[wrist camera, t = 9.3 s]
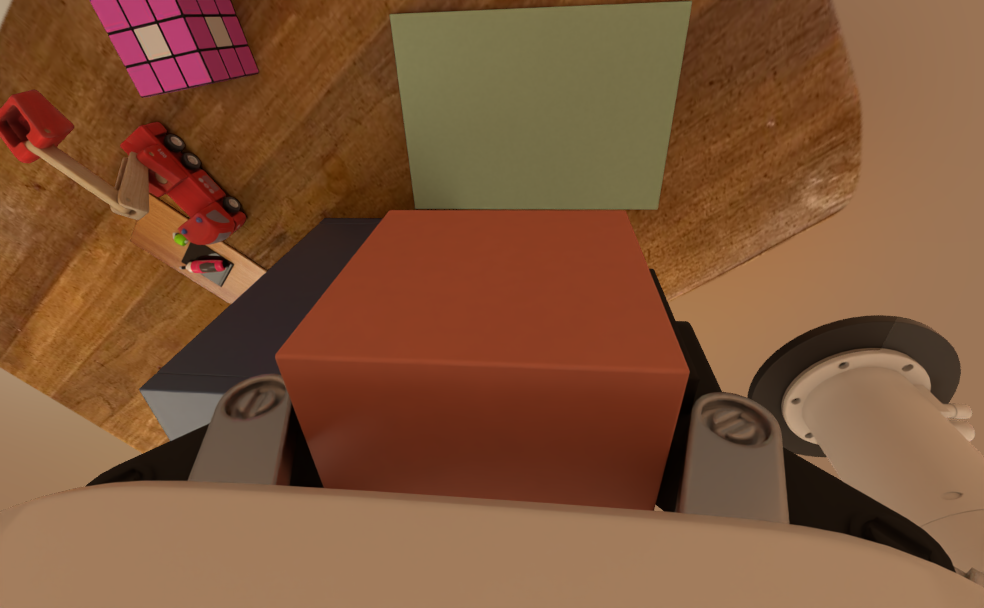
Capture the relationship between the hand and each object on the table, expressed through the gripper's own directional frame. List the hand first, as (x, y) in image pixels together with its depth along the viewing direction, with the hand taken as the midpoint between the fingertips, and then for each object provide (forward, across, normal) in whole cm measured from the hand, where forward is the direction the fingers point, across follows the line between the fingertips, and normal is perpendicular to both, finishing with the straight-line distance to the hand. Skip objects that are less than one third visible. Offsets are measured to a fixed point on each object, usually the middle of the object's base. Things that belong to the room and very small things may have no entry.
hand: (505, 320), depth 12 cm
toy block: (0, 0, 0) cm, 0 cm away
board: (+27, +32, +12) cm, 44 cm away
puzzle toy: (+27, +24, -6) cm, 37 cm away
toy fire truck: (+27, +30, +3) cm, 41 cm away
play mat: (+27, 0, 0) cm, 27 cm away
